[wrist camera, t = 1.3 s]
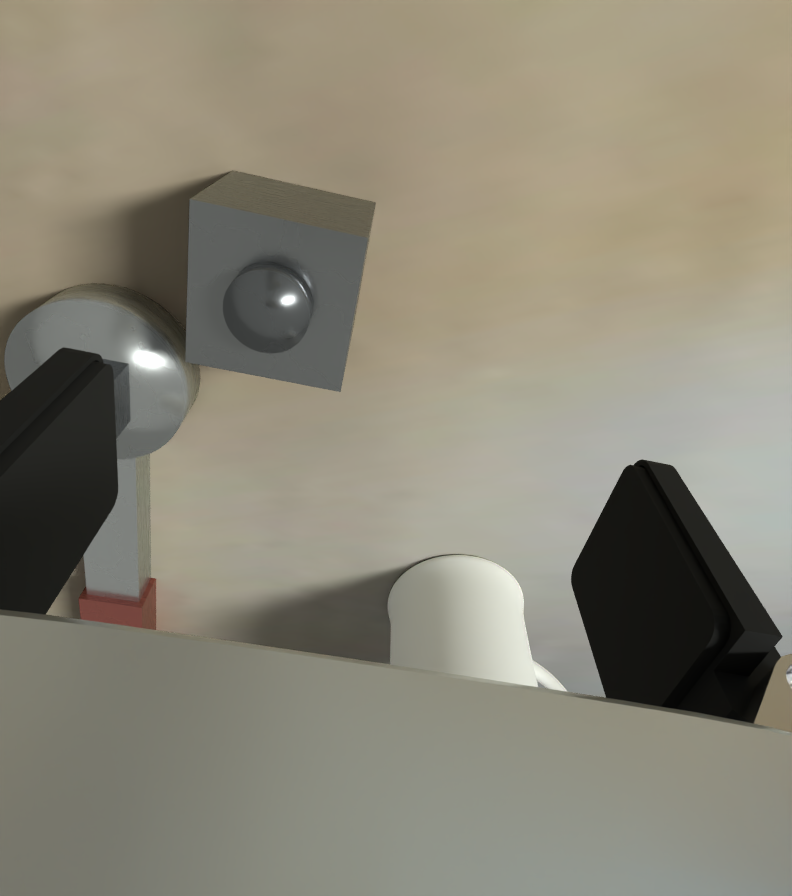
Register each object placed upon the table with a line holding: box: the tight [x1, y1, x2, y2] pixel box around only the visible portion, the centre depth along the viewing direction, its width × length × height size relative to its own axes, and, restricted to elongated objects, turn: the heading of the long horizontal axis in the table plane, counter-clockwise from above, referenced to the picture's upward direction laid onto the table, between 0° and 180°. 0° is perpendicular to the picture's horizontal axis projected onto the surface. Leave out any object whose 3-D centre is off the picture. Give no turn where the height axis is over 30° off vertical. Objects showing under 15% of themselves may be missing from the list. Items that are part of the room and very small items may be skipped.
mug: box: [388, 555, 567, 692], centre depth 34 cm, size 12×8×12 cm
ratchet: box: [4, 283, 200, 630], centre depth 31 cm, size 24×8×6 cm, turn 168°
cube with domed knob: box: [185, 171, 376, 392], centre depth 24 cm, size 6×6×7 cm
